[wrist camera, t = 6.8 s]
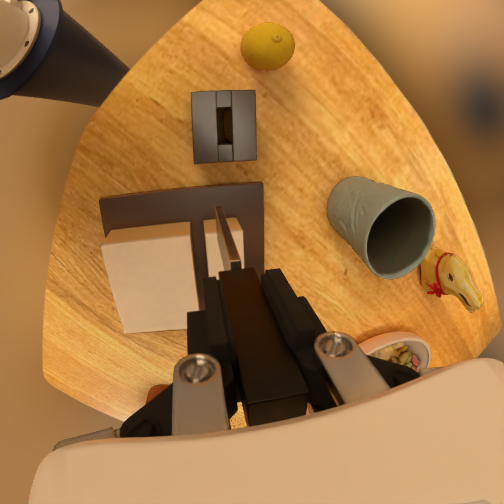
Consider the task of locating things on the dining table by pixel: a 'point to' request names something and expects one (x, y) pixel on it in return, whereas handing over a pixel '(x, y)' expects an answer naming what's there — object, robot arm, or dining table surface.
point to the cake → (152, 276)
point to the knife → (258, 342)
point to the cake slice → (213, 248)
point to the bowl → (398, 349)
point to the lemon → (267, 46)
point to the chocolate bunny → (449, 278)
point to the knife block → (235, 123)
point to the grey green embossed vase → (382, 224)
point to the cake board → (194, 217)
